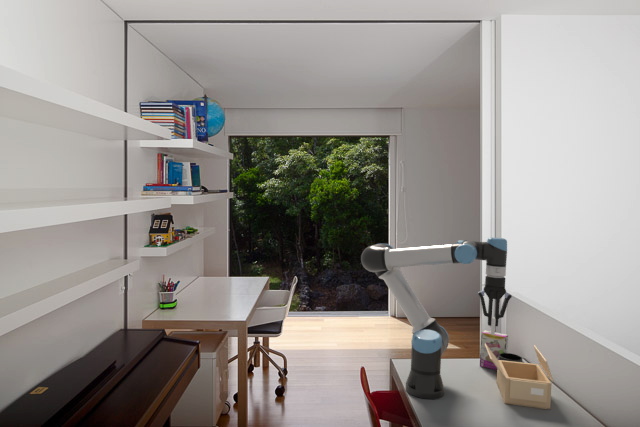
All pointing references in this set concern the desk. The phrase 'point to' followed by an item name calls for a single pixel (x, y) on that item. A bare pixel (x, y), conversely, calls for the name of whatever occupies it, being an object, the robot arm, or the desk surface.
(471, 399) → the desk surface
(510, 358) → the mug
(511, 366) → the carton
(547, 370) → the flap
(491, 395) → the desk surface
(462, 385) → the desk surface
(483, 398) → the desk surface
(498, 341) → the candy bar box
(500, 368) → the flap
